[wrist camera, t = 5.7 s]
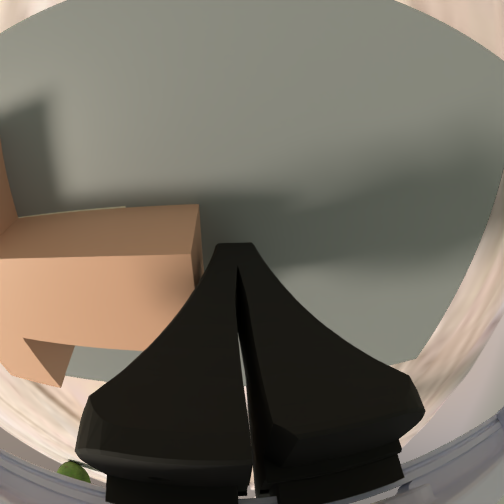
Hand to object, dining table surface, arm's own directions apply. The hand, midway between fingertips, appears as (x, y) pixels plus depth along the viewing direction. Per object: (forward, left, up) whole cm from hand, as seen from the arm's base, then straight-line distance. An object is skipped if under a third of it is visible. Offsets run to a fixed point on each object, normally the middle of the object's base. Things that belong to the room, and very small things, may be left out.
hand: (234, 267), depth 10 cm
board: (0, +4, -2) cm, 4 cm away
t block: (0, +7, -1) cm, 7 cm away
